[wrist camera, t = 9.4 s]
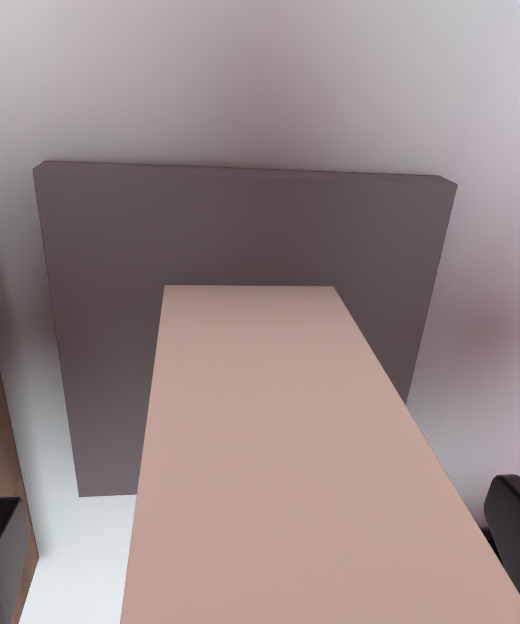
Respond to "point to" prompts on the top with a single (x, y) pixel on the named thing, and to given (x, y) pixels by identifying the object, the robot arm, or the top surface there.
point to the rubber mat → (218, 273)
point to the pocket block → (8, 482)
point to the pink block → (293, 478)
